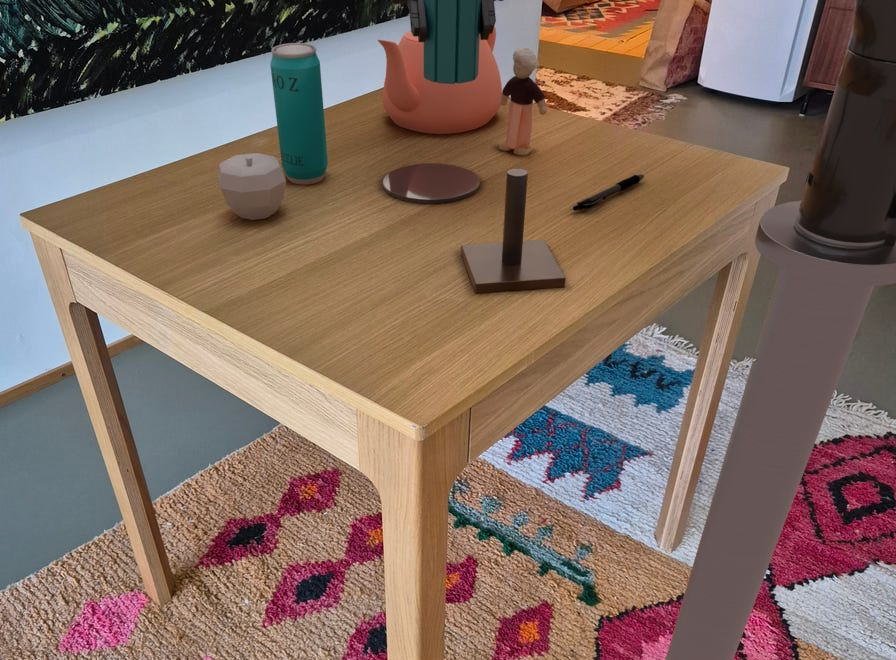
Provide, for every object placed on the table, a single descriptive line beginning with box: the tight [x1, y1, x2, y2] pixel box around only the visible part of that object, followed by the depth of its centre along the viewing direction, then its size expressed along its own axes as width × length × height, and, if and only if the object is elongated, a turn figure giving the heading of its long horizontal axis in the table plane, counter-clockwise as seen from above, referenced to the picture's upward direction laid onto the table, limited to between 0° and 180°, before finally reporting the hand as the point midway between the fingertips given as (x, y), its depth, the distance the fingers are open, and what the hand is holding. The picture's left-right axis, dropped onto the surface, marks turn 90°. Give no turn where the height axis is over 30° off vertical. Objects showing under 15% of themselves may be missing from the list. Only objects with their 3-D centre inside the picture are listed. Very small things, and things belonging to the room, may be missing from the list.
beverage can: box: [269, 42, 329, 185], centre depth 101 cm, size 6×6×15 cm
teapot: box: [377, 26, 503, 135], centre depth 118 cm, size 25×17×13 cm
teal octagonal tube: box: [424, 0, 481, 84], centre depth 86 cm, size 6×6×8 cm
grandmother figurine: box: [498, 46, 548, 156], centre depth 108 cm, size 8×4×13 cm, turn 55°
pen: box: [572, 173, 645, 212], centre depth 99 cm, size 14×2×1 cm, turn 135°
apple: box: [217, 152, 287, 221], centre depth 95 cm, size 8×8×7 cm
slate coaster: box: [382, 162, 481, 204], centre depth 103 cm, size 12×12×1 cm
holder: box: [460, 168, 567, 294], centre depth 82 cm, size 9×9×10 cm
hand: (454, 35), depth 85 cm, fingers closed on teal octagonal tube, 6 cm apart
